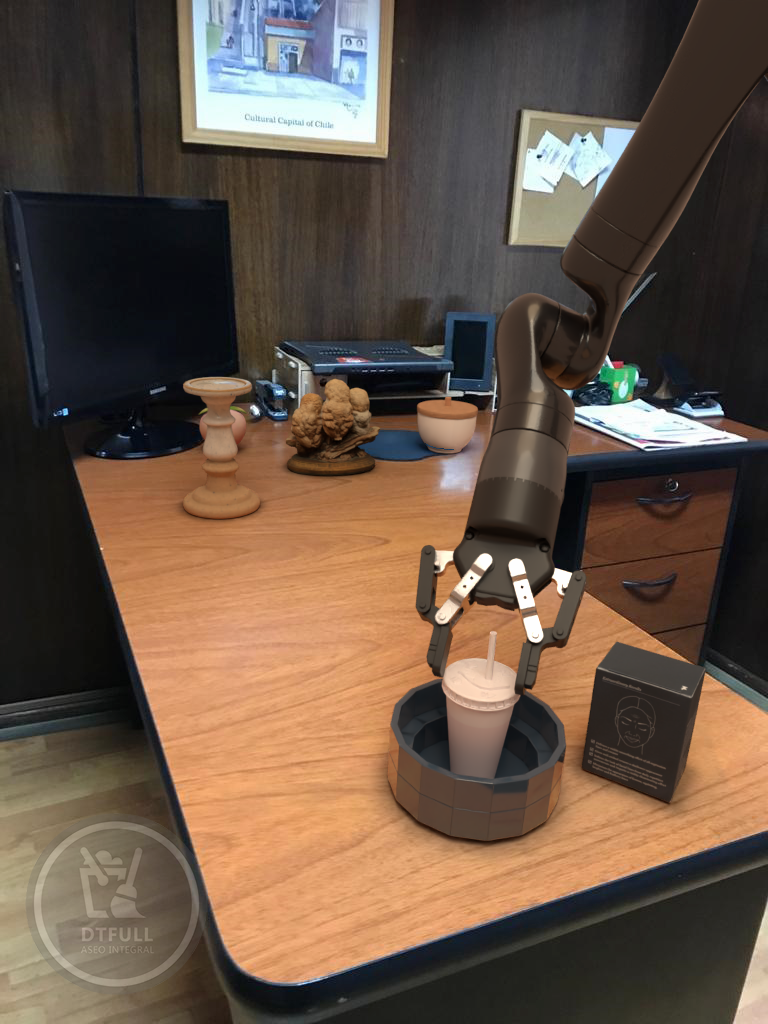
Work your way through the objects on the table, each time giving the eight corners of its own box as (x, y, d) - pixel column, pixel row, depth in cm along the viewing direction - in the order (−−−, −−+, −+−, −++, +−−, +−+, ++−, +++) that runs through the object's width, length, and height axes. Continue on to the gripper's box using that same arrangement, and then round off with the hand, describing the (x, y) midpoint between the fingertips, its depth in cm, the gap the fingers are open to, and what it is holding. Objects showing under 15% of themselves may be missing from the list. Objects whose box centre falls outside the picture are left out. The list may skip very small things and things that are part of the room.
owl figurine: (370, 456, 156) (373, 371, 150) (386, 473, 146) (391, 384, 140) (281, 459, 151) (281, 372, 145) (292, 478, 141) (292, 385, 135)
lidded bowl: (466, 440, 170) (470, 391, 166) (481, 457, 159) (485, 404, 155) (410, 440, 169) (413, 390, 165) (420, 457, 157) (423, 403, 153)
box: (685, 769, 69) (708, 666, 65) (669, 806, 64) (693, 697, 60) (599, 737, 73) (615, 638, 69) (578, 769, 68) (595, 665, 64)
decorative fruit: (209, 459, 149) (207, 408, 146) (195, 448, 156) (193, 399, 152) (254, 454, 154) (254, 405, 150) (240, 443, 160) (239, 396, 157)
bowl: (551, 742, 72) (559, 686, 69) (562, 858, 58) (572, 794, 56) (399, 723, 73) (402, 668, 71) (376, 832, 60) (379, 768, 58)
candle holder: (210, 489, 133) (205, 372, 126) (273, 500, 129) (272, 380, 122) (167, 511, 122) (159, 385, 115) (235, 524, 118) (231, 394, 111)
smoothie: (492, 812, 62) (510, 661, 57) (421, 782, 65) (432, 636, 60) (521, 767, 67) (539, 625, 62) (454, 742, 70) (466, 604, 65)
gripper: (432, 462, 66) (381, 652, 59) (606, 486, 62) (572, 692, 55) (443, 502, 72) (398, 676, 66) (601, 525, 68) (570, 714, 62)
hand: (477, 682), depth 60 cm, fingers open, 6 cm apart
